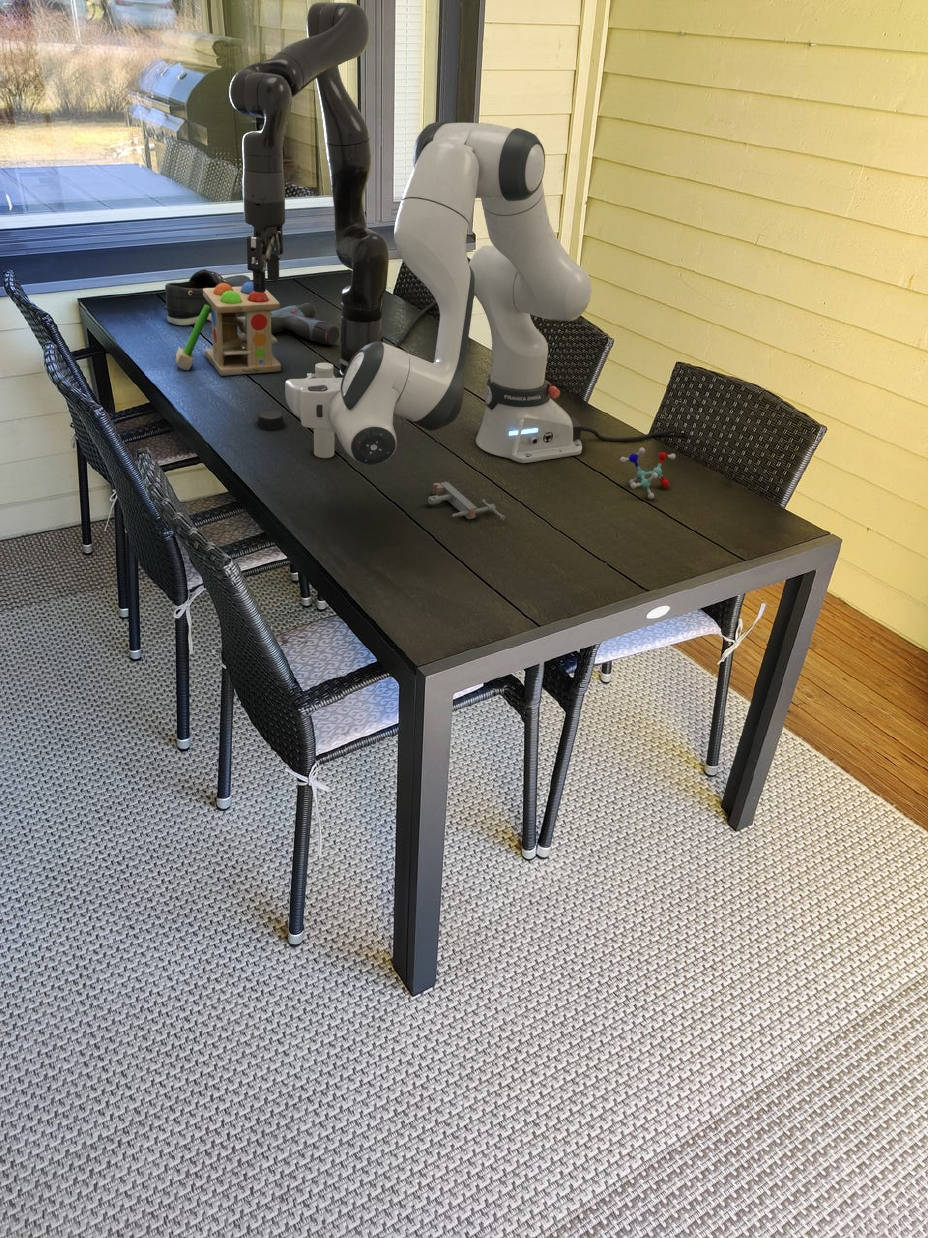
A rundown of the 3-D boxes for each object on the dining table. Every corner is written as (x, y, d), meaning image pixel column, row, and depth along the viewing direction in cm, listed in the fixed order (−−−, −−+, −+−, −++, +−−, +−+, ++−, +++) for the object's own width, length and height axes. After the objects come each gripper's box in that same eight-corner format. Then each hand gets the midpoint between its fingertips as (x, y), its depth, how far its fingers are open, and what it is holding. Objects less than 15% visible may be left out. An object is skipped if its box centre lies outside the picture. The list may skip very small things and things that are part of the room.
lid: (283, 429, 203) (283, 418, 202) (258, 429, 202) (258, 419, 201) (282, 420, 207) (281, 409, 206) (258, 420, 206) (257, 409, 205)
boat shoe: (273, 303, 272) (271, 265, 267) (185, 327, 248) (181, 285, 243) (238, 295, 278) (236, 257, 272) (149, 317, 254) (144, 276, 249)
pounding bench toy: (183, 379, 220) (176, 299, 210) (169, 357, 231) (162, 280, 221) (282, 371, 230) (280, 294, 220) (264, 350, 240) (262, 276, 230)
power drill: (365, 313, 253) (305, 296, 261) (318, 330, 240) (256, 311, 248) (364, 334, 256) (305, 316, 264) (318, 351, 243) (257, 332, 251)
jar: (310, 454, 195) (309, 366, 184) (321, 447, 198) (321, 360, 187) (327, 459, 193) (327, 370, 183) (338, 452, 196) (339, 364, 186)
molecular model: (677, 492, 186) (662, 441, 184) (629, 506, 189) (614, 457, 188) (684, 485, 196) (670, 436, 195) (639, 499, 200) (624, 451, 198)
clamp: (419, 485, 182) (465, 477, 187) (418, 496, 183) (464, 487, 188) (459, 522, 172) (507, 512, 176) (457, 533, 173) (505, 523, 177)
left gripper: (256, 186, 185) (259, 273, 195) (230, 200, 174) (235, 293, 183) (295, 190, 185) (296, 278, 194) (272, 206, 173) (274, 298, 182)
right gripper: (414, 387, 164) (395, 358, 175) (292, 390, 158) (280, 360, 169) (412, 422, 168) (394, 391, 178) (292, 427, 162) (280, 395, 173)
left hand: (266, 285), depth 188 cm, fingers open, 8 cm apart
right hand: (337, 376), depth 174 cm, fingers open, 8 cm apart
